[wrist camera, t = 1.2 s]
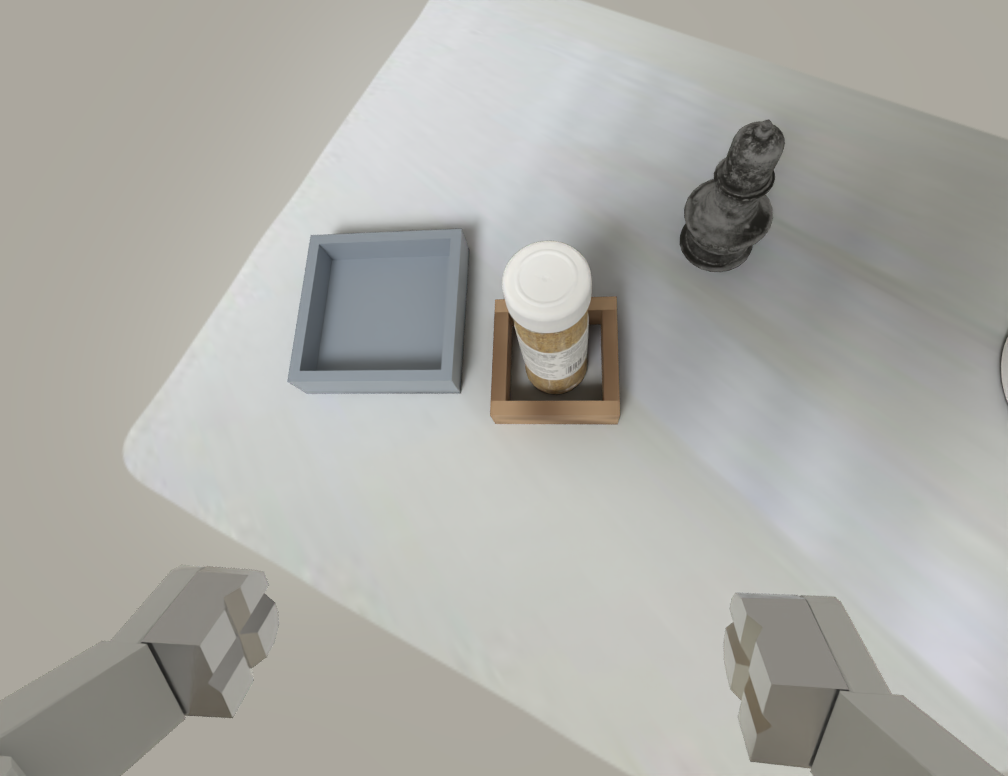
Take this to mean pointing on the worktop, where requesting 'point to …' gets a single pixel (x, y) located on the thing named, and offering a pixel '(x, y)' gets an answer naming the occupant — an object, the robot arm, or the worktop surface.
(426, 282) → the slate tray
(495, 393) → the walnut collar
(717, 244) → the salt shaker
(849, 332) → the worktop surface
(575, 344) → the sprinkles bottle
